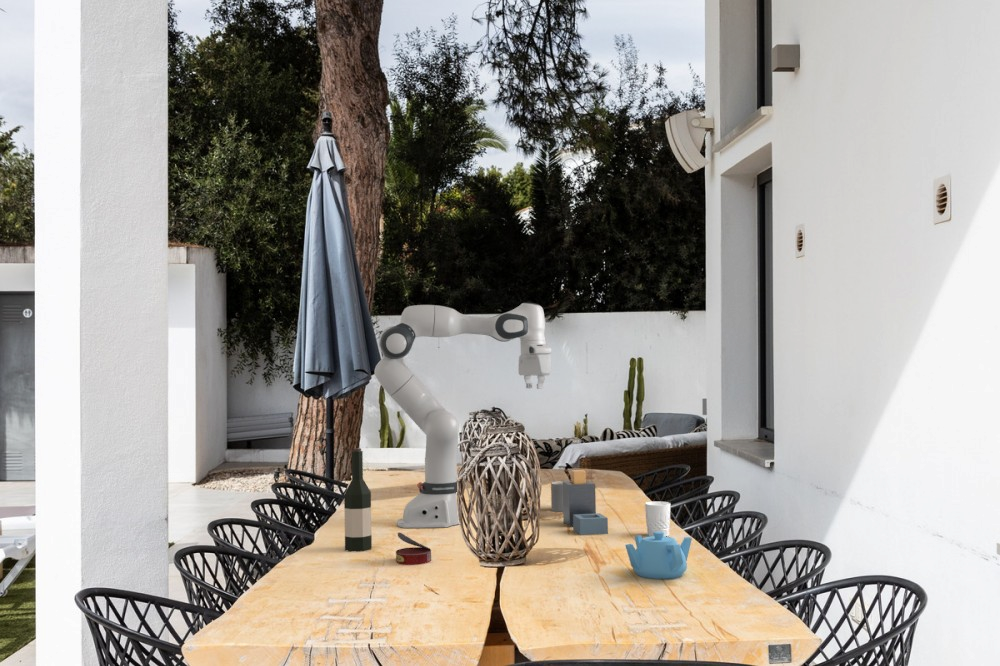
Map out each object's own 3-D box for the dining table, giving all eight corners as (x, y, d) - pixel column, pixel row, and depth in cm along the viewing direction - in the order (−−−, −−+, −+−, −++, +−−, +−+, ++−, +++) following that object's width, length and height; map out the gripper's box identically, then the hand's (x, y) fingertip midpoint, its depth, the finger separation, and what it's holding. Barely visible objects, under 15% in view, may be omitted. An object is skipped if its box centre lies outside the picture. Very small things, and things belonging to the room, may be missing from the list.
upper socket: (569, 527, 307) (568, 484, 307) (563, 522, 315) (562, 481, 316) (596, 526, 308) (595, 483, 309) (589, 521, 317) (588, 480, 317)
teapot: (622, 578, 235) (621, 536, 235) (635, 565, 249) (634, 525, 249) (683, 583, 229) (682, 539, 229) (693, 569, 243) (692, 528, 244)
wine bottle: (349, 552, 272) (348, 450, 273) (340, 547, 280) (339, 448, 280) (376, 549, 276) (374, 448, 277) (367, 544, 283) (365, 446, 284)
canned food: (399, 575, 262) (398, 541, 267) (434, 571, 262) (432, 537, 267) (392, 565, 252) (390, 529, 257) (428, 560, 252) (426, 525, 257)
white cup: (673, 533, 292) (673, 502, 293) (667, 538, 285) (666, 505, 285) (649, 532, 296) (648, 500, 296) (642, 536, 288) (641, 504, 289)
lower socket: (580, 535, 293) (580, 519, 293) (573, 530, 302) (573, 514, 302) (607, 533, 294) (607, 517, 294) (600, 528, 303) (599, 513, 303)
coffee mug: (552, 512, 337) (552, 484, 337) (550, 508, 347) (550, 481, 347) (589, 511, 337) (588, 484, 338) (586, 507, 347) (585, 480, 347)
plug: (574, 492, 310) (574, 471, 310) (571, 491, 314) (571, 470, 314) (586, 492, 310) (585, 471, 311) (583, 490, 314) (582, 469, 315)
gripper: (513, 349, 332) (514, 388, 332) (536, 348, 313) (538, 389, 313) (529, 349, 334) (530, 387, 334) (553, 348, 315) (554, 388, 315)
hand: (534, 388), depth 323 cm, fingers open, 8 cm apart
